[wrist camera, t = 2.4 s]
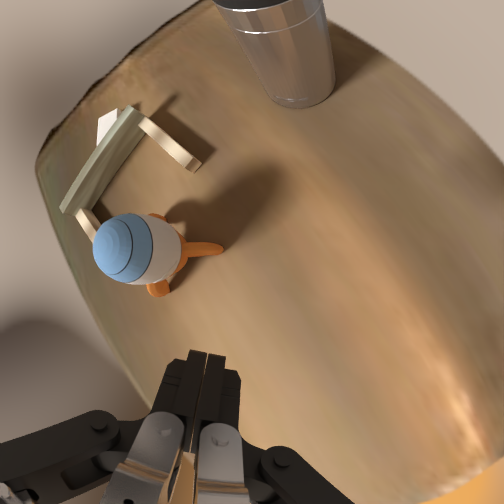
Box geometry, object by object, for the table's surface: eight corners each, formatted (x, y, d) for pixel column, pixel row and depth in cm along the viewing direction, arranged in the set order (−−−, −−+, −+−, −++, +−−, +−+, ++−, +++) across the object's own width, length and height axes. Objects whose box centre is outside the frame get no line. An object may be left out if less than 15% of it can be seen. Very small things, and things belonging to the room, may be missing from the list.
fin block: (110, 124, 44) (98, 118, 41) (128, 115, 42) (117, 108, 40) (109, 151, 43) (96, 145, 40) (128, 142, 42) (115, 135, 39)
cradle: (202, 163, 37) (182, 150, 33) (121, 268, 40) (96, 268, 36) (148, 117, 41) (128, 104, 36) (82, 212, 44) (59, 207, 39)
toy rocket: (153, 221, 40) (90, 175, 26) (229, 217, 39) (193, 161, 24) (148, 297, 38) (75, 284, 24) (227, 299, 37) (185, 287, 22)
